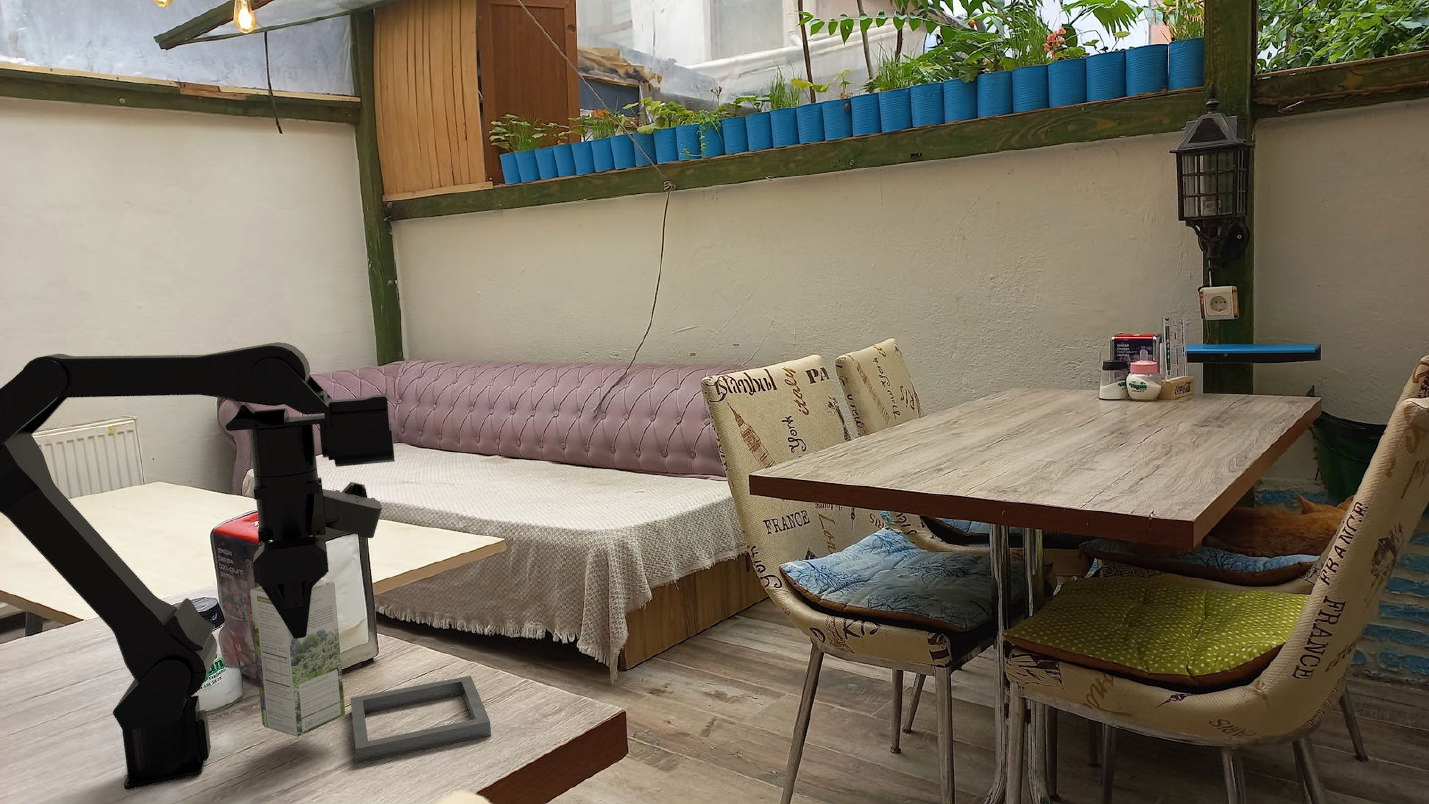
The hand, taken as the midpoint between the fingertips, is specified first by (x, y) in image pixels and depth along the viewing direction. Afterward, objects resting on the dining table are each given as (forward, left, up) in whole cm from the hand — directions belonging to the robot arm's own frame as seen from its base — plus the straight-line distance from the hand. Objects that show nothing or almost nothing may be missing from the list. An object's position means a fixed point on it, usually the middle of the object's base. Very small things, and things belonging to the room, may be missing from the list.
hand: (300, 624), depth 97 cm
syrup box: (0, 0, -10) cm, 10 cm away
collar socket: (+10, 0, -13) cm, 16 cm away
